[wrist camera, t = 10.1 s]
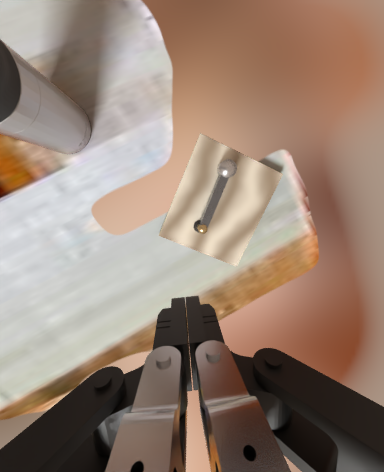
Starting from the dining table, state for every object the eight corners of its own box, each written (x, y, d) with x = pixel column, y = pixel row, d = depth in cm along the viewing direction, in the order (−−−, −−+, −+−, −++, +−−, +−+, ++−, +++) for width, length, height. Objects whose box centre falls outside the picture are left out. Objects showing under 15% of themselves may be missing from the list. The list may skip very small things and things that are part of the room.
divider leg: (221, 158, 38) (223, 156, 36) (236, 164, 39) (239, 163, 37) (192, 228, 41) (193, 230, 39) (206, 233, 42) (208, 236, 39)
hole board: (159, 233, 43) (158, 235, 41) (199, 135, 39) (200, 133, 37) (234, 264, 45) (236, 266, 44) (279, 174, 42) (283, 174, 40)
